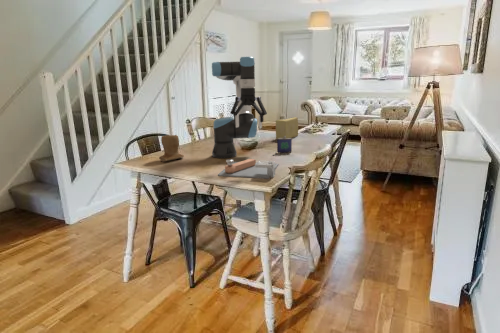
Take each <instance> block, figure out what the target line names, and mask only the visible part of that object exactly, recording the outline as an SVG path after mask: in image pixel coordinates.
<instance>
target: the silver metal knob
mask: <svg viewBox="0 0 500 333" xmlns="http://www.w3.org/2000/svg"><path fill="white" fill-rule="evenodd" d="M232 162H235V161H234V159H232V158H231V159H230V158H227V159H226V160H225V163H226V164H227V165H226V166H233V163H232Z"/></svg>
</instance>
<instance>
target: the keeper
mask: <svg viewBox="0 0 500 333" xmlns="http://www.w3.org/2000/svg"><path fill="white" fill-rule="evenodd" d="M275 164H276V161H275V160H260V159H259V160H258V161H256V164H255V167H256V168H267V176H270V178H274V177H275V175H276V169H275Z"/></svg>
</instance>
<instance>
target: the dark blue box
mask: <svg viewBox="0 0 500 333" xmlns="http://www.w3.org/2000/svg"><path fill="white" fill-rule="evenodd" d="M292 141H293V138H286V136H284V137H283V138H278V139H276V146H277V147H276V148H277V149H276V152H278V153H277V154H283V153H284V154H287V153H289V154H290V153H292V152H293V150H292V149H293V148H292V144H293V142H292Z"/></svg>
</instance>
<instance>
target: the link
mask: <svg viewBox="0 0 500 333" xmlns="http://www.w3.org/2000/svg"><path fill="white" fill-rule="evenodd" d="M237 162H238V163H235V164H233V166H227V165H225V166H224V169H225V172H226V173H234V172H236V171H239V170H242V169H245V168H248V167H251V166H254V165H255V164H256V163H257V160H256V159H254V158H247V159H245V160H242V161H237Z"/></svg>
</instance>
